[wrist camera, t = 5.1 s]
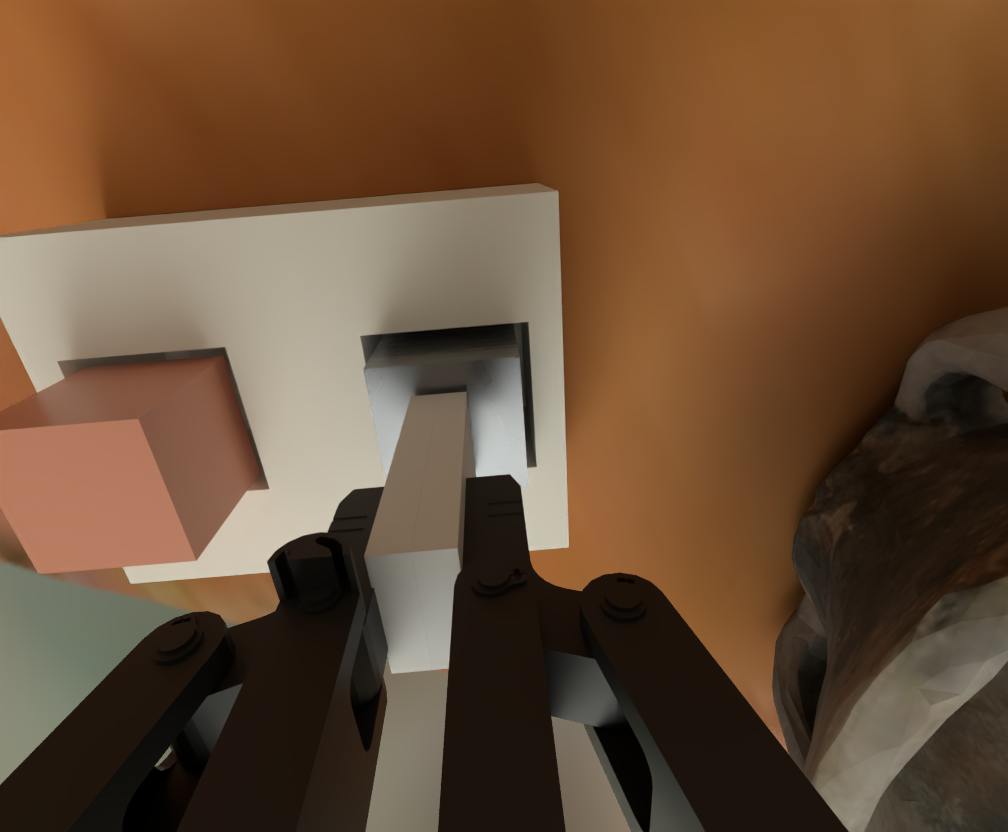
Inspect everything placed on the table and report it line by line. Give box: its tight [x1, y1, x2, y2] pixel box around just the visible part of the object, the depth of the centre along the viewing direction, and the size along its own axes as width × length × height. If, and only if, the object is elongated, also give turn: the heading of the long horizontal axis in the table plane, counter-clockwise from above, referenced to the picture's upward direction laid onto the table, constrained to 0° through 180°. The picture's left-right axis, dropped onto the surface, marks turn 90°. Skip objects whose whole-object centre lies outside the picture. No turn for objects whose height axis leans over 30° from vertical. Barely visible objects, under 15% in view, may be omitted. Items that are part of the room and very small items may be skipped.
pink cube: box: [0, 355, 260, 574], centre depth 15 cm, size 4×4×4 cm
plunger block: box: [0, 183, 569, 584], centre depth 20 cm, size 12×16×6 cm
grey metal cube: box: [363, 323, 528, 489], centre depth 17 cm, size 4×4×4 cm
